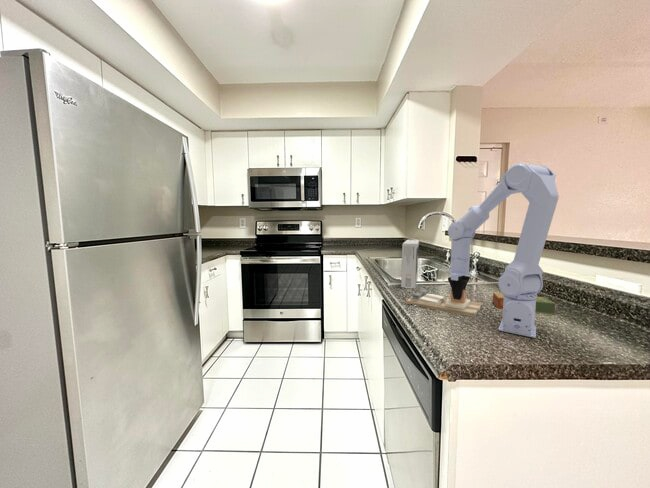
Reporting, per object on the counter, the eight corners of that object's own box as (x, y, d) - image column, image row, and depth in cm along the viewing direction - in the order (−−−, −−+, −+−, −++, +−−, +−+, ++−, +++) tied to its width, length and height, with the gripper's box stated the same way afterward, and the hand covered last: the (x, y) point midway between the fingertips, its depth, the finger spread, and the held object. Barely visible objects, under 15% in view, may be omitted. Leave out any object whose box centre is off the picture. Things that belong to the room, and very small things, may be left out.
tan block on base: (464, 309, 88) (465, 294, 88) (444, 306, 92) (445, 291, 92) (470, 302, 96) (471, 288, 96) (452, 299, 100) (452, 286, 99)
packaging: (415, 289, 120) (417, 243, 118) (400, 288, 122) (402, 243, 120) (417, 277, 148) (419, 239, 146) (405, 276, 150) (406, 239, 148)
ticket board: (474, 317, 85) (475, 306, 85) (405, 303, 98) (405, 295, 98) (481, 306, 96) (482, 297, 96) (418, 295, 109) (418, 287, 109)
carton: (492, 303, 101) (492, 291, 101) (545, 308, 96) (546, 296, 95) (497, 309, 94) (497, 297, 93) (555, 315, 88) (556, 302, 88)
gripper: (452, 255, 101) (450, 291, 102) (441, 259, 90) (440, 300, 91) (474, 257, 97) (472, 295, 98) (465, 261, 85) (463, 304, 86)
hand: (458, 298), depth 94 cm, fingers closed on tan block on base, 3 cm apart
